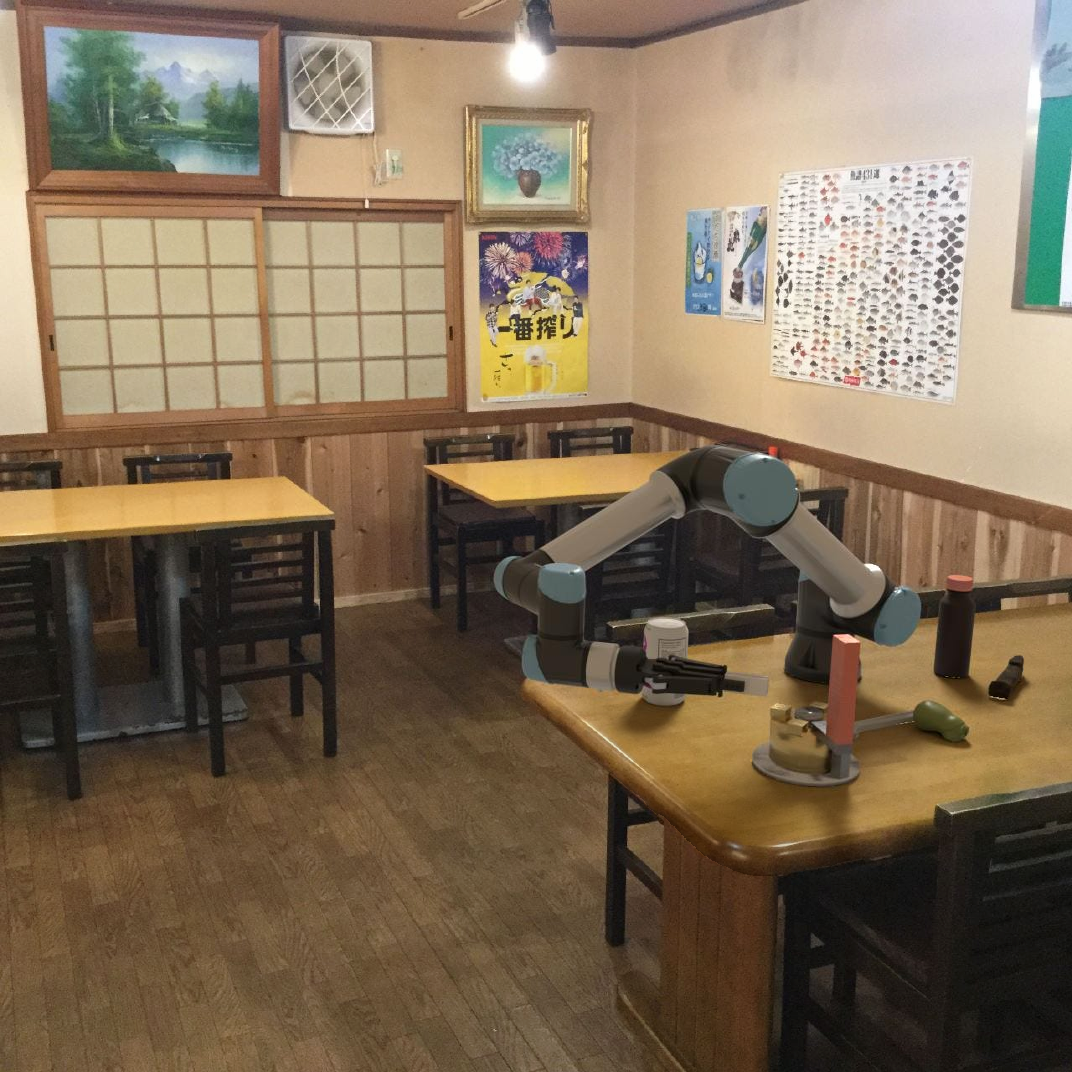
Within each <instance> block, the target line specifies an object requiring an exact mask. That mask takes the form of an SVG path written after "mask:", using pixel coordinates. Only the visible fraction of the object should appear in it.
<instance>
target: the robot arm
mask: <svg viewBox="0 0 1072 1072" xmlns="http://www.w3.org/2000/svg"><path fill="white" fill-rule="evenodd" d="M797 483H798V482H797V479H796V476H795V474H794V472H793V470H792V469H791V468H790V467H789V465H788V464H786V463H785V462H784V461H783V460H780V458H779V459H778V458H776V457H774V456H773V455H769V454H766V453H761V452H752V451H746V450H741V449H737V448H733V447H729V446H724V445H719V444H718V445H717V444H716V445H706V446H703V447H698V448H696V449H693V450H690V451H688V452H686V453H684V454H682V455H680V456H678V457H675V458H674V459H672V460H670V461H669V462H667V463H665V464H664V465H662V466H661V467H659V468H657V469H655V470H654V471H652V472H651V473H650V474H649V477H648V481H647V482H645V483H644V484H642V485H640V486H639V487H637V488H635V489H634V490H632V491H631V492H629V493H627V494H626V495H624V496H623V497H621V498H619V499H618V500H616V501H614V502H613V503H610V505H608V506H606V507H604V508H603V509H602V510H600V511H598V512H597V513H595V514H593V515H592V516H590V517H589V518H586V519H585V520H583V521H581V522H580V523H579V524H577V525H575V526H574V527H573V528H571V529H569V530H567V531H566V532H564V533H562V534H561V535H559V536H558V537H555V538H554V539H552V540H551V541H550V542H548V543H546V544H545V545H543V546H541V547H540V548H537V550H535V551H533V552H532V553H530V554H528V555H526V556H525V557H523V556H514V555H513V556H512V555H511V556H507V557H505V558H504V559H502V560H501V561H500V562H499V563H498V565H497V566H496V568H495V570H494V573H493V584H494V587H495V590H496V591H497V592H498V593H499V594H500V595H501V596H502V597H503V598H504V599H506V600H507V601H509V602H510V603H511V604H516V605H518V606H520V607H522V608H524V609H525V610H528V611H529V612H531V613H533V614H534V615H536V616H537V634H531V635H529V636H528V637H527V638H526V640H525V642H524V645H523V648H522V655H521V668H522V673H523V675H524V676H525V677H526V678H527V679H529V680H531V681H535V682H541V683H546V684H548V685H563V686H570V687H571V686H572V687H579V688H586V689H594V690H595V689H596V690H597V692H598V693H602V692H603V691H610V692H613V691H614V690H616V691H617V692H618V693H624V694H631V695H640V693H642V689H643V686H648V687H652V693H653V694H664V693H672V694H686V695H690V696H691V695H692V696H709V697H710V696H711V697H713V696H714V697H716V696H717V698H722V697H723V694H724V693H733V694H740V695H749V696H756V697H765V698H767V696H768V694H769V681H770V675H764V674H763V675H762V674H754V673H747V672H738V671H729V670H728V665H727V664H722V665H721V664H716V663H712V662H705V661H699V660H695V659H691V658H687V659H685V658H681V657H678V656H675V655H669V657H668V659H666V658H656V659H648V658H647V656H646V651H645V649H644V648H643V647H644V646H643V647H642V646H635V645H628V644H627V645H626V644H623V645H622V646H620V645H619V644H618V643H611V642H602V641H591V640H590V641H589V640H587V639H585V638H584V637H585V614H586V598H587V597H586V596H587V589H586V588H587V587H586V573H585V572H586V571H587V570H589V569H591V568H592V567H594V566H596V565H597V564H599V563H601V562H602V561H604V560H605V559H607V558H609V557H610V556H612V555H613V554H615V553H616V552H618V551H620V550H621V549H623V548H625V547H626V546H628V545H629V544H631V543H632V542H634V541H636V540H637V539H639V538H640V537H642V536H643V535H645V534H646V533H648V532H650V531H651V530H653V529H655V528H656V527H658V526H659V525H661V524H662V523H664V522H666V521H668V520H669V519H670V518H673V519H677V520H679V519H681V518H683V517H684V516H686V515H687V514H689V513H692V512H696V511H702V510H703V511H706V510H707V511H711V512H713V513H717V514H719V515H723V516H726V517H728V518H729V519H730V520H732V521H733V522H734V523H735V524H736V525H737V526H739V527H740V528H741V529H742V530H743V531H744V532H745V533H747V534H748V535H749V536H750V537H752V538H755V539H766V540H767V541H768V542H769V543H771V545H773V546H774V547H775V548H776V550H778V551H779V552H780V553H781V554H782V555H783V556H784V557H785V558H787V560H789V561H790V562H791V563H792V564H793V565H795V566H796V567H797V569H798V570H800V571H799V577H798V580H797V585H798V586H797V599H796V600H797V605H796V622H795V625H796V626H795V633H794V635H793V637H792V640H791V643H790V645H789V647H788V650H787V652H786V653H785V654H786V655H785V657H784V665H783V666H784V667H783V668H784V671H785V672H786V673H787V674H788V675H790V676H791V677H793V678H797V679H799V680H804V681H807V682H813V683H820V684H829V683H830V670H831V657H832V643H833V635H845V634H849V635H850V636H852V637H853V638H855V639H856V636H858V637H860V638H862V639H866V640H868V641H871V642H873V643H875V644H876V645H879V646H885V647H890V648H895V647H898V646H899V645H902V644H904V643H905V642H907V641H908V640H909V639H910V638H911V637H912V635H914V632H915V631H916V629H917V627H918V625H919V622H920V620H921V616H922V614H921V611H922V601H921V599H920V596H919V594H918V593H917V591H915V590H914V589H911V588H910V587H909V586H908V585H900V584H898V583H896V582H895V581H893V580H892V579H891V578H890V577H889V575H887V574H886V573H885V572H884V571H883V570H882V569H881V568H880V567H879V566H877V565H875V564H872V563H863V562H862V561H861V560H860V559H859V558H858V557H856V555H855V554H853V553H852V552H851V551H850V550H849V549H848V547H846V545H844V544H843V543H842V541H840V540H839V539H838V538H837V537H836V536H835V535H834V534H833V533H832V532H831V531H830V530H829V529H828V528H826V526H825V525H823V524H822V523H821V521H819V520H818V518H816V517H815V516H814V515H813V514H812V512H810V511H809V510H808V509H807V508H806V507H805V506H804V505H803V504H802V503H801V494H800V491H799V488H798V487H797V486H796V485H797ZM862 670H863V669H862V661H861V656H859V669H858V680H859V679H860V678H861V677H862ZM723 692H724V693H723Z"/></svg>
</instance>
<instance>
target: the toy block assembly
mask: <svg viewBox="0 0 1072 1072" xmlns="http://www.w3.org/2000/svg"><path fill="white" fill-rule="evenodd" d="M860 653H861V641H859V639H857V638H856V637H855V638H853V637H852V636H850V635H849V634H845V635H833V643H832V657H831V670H830V683H828V685H829V686H828V699H827V703H825V702H820V701H816V700H814V701H813V702H811V704H810V705H809V706H808V707H813V708H817V709H819V710H821V711H822V712H823V721H815V722H811V726H808V724H809V722H808V721H804V720H800V719H795V709H792V706H790V705H786V704H782V703H777V702H776V703H775V704H773V705H772V706H770V708H769V718H770V719H769V720H770V723H769V736H768V737H769V738H768V742H769V751H768V755H769V758H770V759H771V760H772V761H773V762H774V763H776V764H778V765H780V766H782V767H785V768H788V769H791V770H795V771H801V772H810V773H822V772H829V771H831V760H832V751H833V752H834V753H835V754H836V755H840V754H852V753H853V751H852V750H853V741H854V739H853V731H854V722H855V719H856V716H855V715H856V705H857V703H856V702H857V690H858V680H859V679H858V669H859V656H860ZM860 657H861V656H860Z"/></svg>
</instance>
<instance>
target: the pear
mask: <svg viewBox="0 0 1072 1072" xmlns="http://www.w3.org/2000/svg"><path fill="white" fill-rule="evenodd" d="M913 710H914V712H913V720H914V722H913V723H914V724H915V725H916V726H917V727H918V728H919V729H920V730H922V731H927V732H939V733H940V734H941V735H942V737H943V738H944V739H945V740H947V741H948V740H949V742H951V741H952V742H951V743H955V742H956V741H957V742H960V741H959V740H961V739H963V740H965V739H966V737H967V736H968V735H969V732H970V727H969V726H968V725H966V722H965V721H964V720H963V719H962V718H961V717H959V716H956V715H954V714H953V712H952V711H951V710H949V708H947V707H946V706H944V705H943V704H941V703H940V702H939V703H938V702H936V701H933V700H924V701H920V702H919V703H918V704H917V705H916V706H915V707H914V709H913ZM964 738H965V739H964ZM961 741H962V740H961ZM957 742H956V743H957Z"/></svg>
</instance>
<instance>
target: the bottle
mask: <svg viewBox="0 0 1072 1072" xmlns="http://www.w3.org/2000/svg"><path fill="white" fill-rule="evenodd" d="M973 584H974V578H973V577H970V576H968V575H961V574H951V575H948V576H947V577H946V591H947V594H945V596H943V597H942V598H941V599H940V601H939V609H938V617H937V618H938V619H937V626H936V627H937V629H936V639H935V650H934V651H935V652H934V660H933V661H934V662H933V671H934V672H933V673H935V674H936V673H937V674H936V675H938V676H940V675H941V676H940V677H943V676H948V677H955V678H954V679H963V678H962V677H965V678H966V676H967V677H968V676H969V674H970V667H971V666H970V665H971V655H972V649H973V648H972V645H973V639H974V637H973V636H974V625H975V615H976V607H977V605H976V603H975V601H974V600H973V598H972V597H971V593H972V592H973V587H974V585H973ZM948 677H947V678H948ZM958 677H960V678H958Z"/></svg>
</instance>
